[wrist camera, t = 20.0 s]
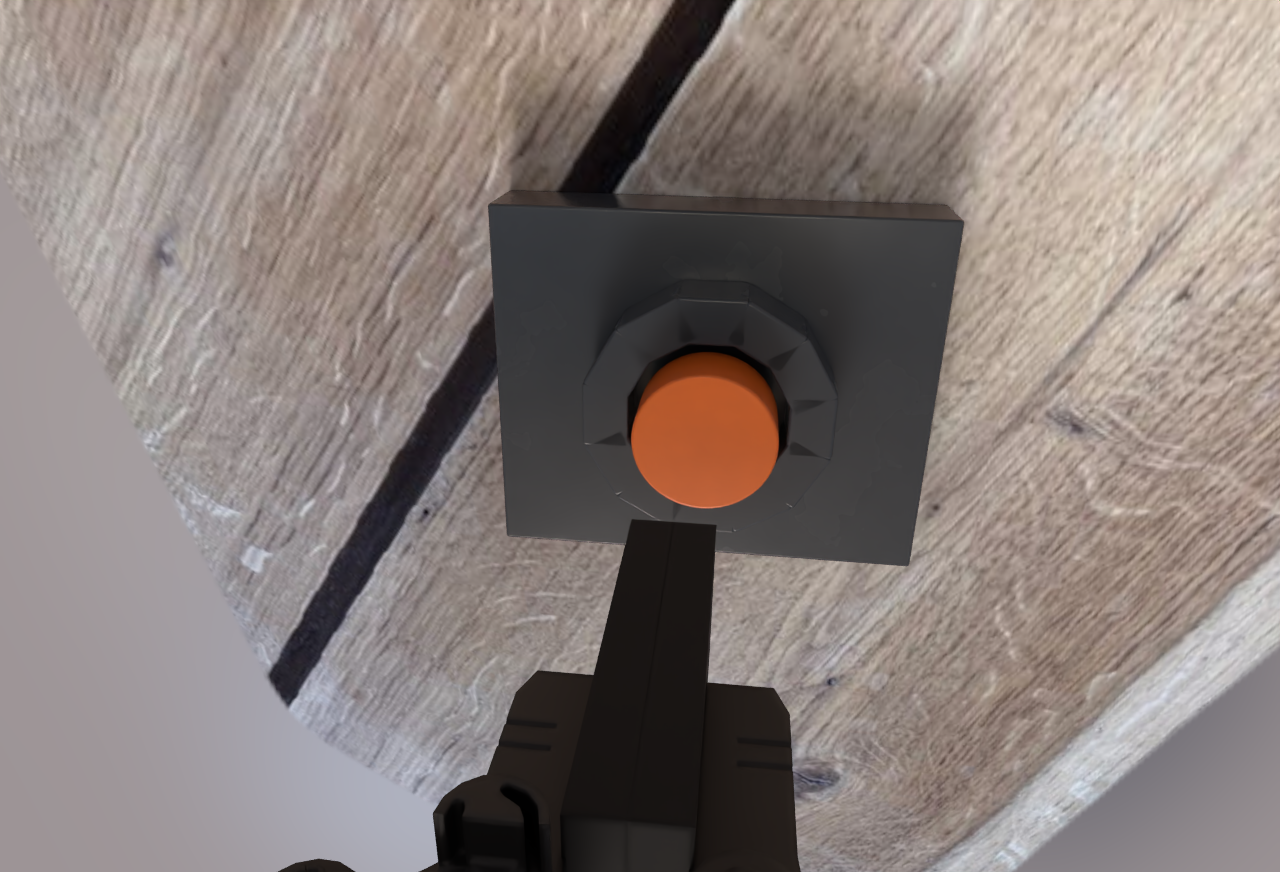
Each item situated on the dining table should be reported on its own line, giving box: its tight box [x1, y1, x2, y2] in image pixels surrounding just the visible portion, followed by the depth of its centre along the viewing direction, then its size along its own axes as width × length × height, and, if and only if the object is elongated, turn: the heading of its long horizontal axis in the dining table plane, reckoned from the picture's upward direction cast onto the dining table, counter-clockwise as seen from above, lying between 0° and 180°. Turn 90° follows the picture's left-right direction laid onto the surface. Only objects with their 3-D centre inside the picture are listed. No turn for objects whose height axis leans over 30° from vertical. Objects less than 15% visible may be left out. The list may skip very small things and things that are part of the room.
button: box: [631, 352, 779, 508], centre depth 23 cm, size 4×4×2 cm
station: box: [488, 190, 964, 566], centre depth 25 cm, size 12×10×4 cm
